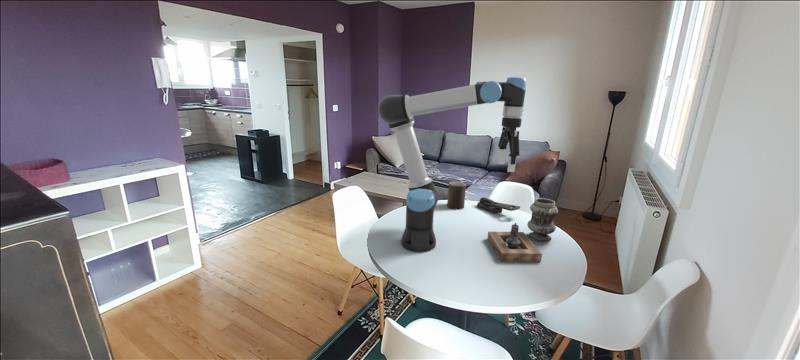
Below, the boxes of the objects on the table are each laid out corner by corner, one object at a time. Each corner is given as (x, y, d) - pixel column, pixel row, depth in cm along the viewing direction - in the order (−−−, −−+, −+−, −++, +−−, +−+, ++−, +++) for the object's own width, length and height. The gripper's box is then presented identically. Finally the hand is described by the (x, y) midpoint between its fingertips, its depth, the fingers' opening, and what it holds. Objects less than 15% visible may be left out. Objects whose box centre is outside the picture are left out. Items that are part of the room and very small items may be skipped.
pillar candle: (458, 210, 183) (460, 185, 179) (443, 206, 189) (445, 181, 185) (467, 206, 190) (469, 181, 186) (453, 202, 196) (455, 178, 192)
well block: (501, 261, 131) (502, 253, 130) (487, 238, 151) (488, 231, 150) (540, 261, 132) (542, 253, 131) (522, 239, 151) (523, 232, 150)
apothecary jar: (539, 230, 161) (545, 195, 156) (559, 240, 150) (566, 203, 145) (520, 233, 156) (525, 198, 151) (539, 245, 146) (545, 206, 141)
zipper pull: (511, 209, 169) (475, 195, 189) (509, 221, 171) (474, 206, 191) (522, 206, 174) (486, 193, 194) (520, 218, 175) (485, 203, 195)
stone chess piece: (513, 253, 137) (517, 226, 134) (502, 247, 142) (505, 221, 138) (522, 249, 141) (526, 223, 137) (510, 244, 145) (514, 218, 142)
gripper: (533, 120, 122) (525, 175, 128) (511, 114, 146) (505, 161, 152) (513, 120, 122) (505, 175, 128) (494, 114, 146) (489, 160, 152)
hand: (505, 167), depth 140 cm, fingers open, 13 cm apart
